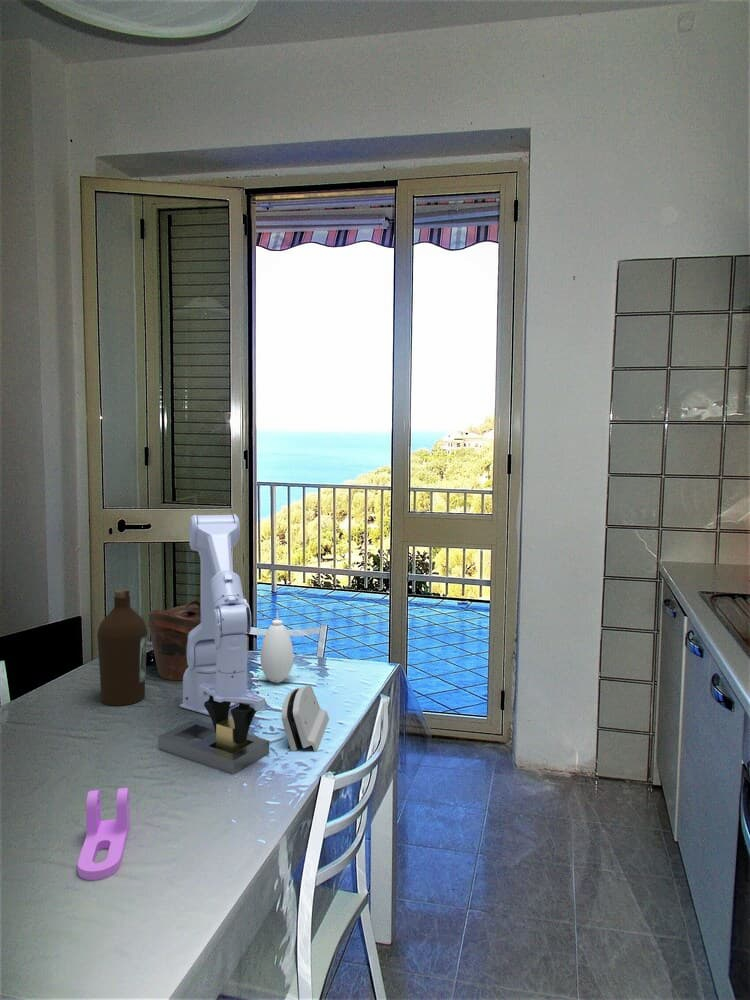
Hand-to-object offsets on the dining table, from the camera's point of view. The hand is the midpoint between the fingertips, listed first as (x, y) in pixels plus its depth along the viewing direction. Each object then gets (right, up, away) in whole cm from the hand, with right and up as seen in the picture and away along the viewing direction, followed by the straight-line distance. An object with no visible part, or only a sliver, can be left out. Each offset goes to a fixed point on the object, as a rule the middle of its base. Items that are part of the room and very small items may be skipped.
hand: (231, 739), depth 131 cm
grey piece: (+13, -3, +11) cm, 17 cm away
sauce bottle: (+3, 0, +41) cm, 42 cm away
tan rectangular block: (0, -3, 0) cm, 3 cm away
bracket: (-12, -6, -31) cm, 33 cm away
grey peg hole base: (-4, -3, +3) cm, 6 cm away
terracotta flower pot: (-22, +1, +47) cm, 52 cm away
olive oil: (-30, -1, +28) cm, 42 cm away
